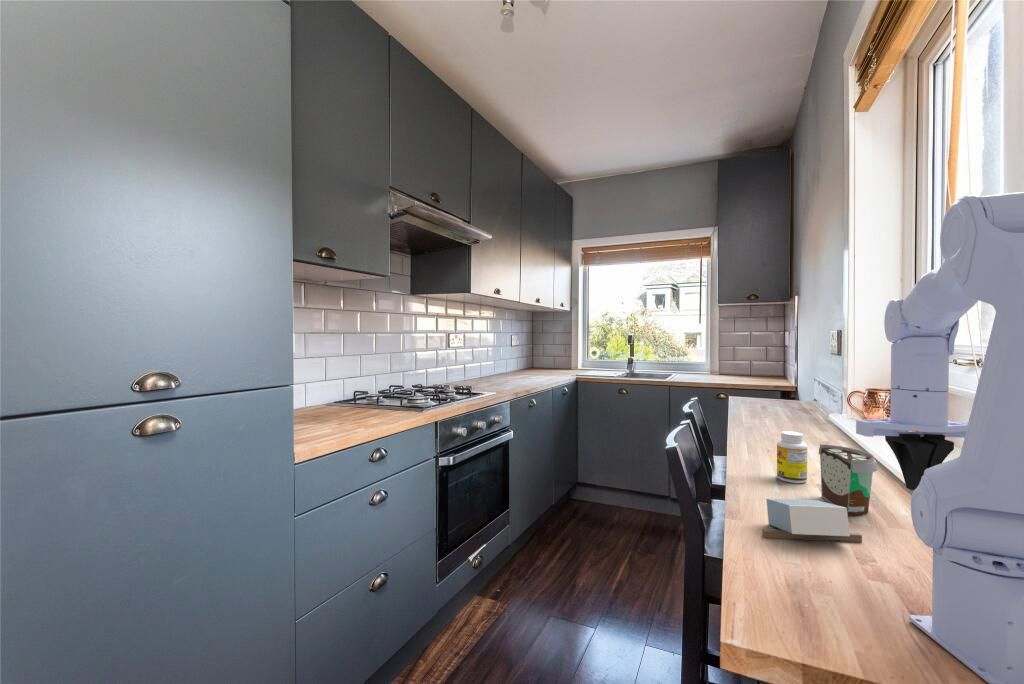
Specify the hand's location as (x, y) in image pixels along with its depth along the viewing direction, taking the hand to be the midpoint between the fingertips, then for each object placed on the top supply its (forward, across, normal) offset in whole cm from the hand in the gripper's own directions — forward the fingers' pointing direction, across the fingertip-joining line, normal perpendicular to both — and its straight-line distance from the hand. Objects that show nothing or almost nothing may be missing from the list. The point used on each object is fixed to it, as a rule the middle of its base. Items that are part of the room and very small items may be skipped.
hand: (917, 490), depth 60 cm
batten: (+10, +9, -8) cm, 16 cm away
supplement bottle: (+10, -3, -37) cm, 38 cm away
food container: (+10, -6, -22) cm, 25 cm away
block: (+7, +9, -6) cm, 13 cm away
